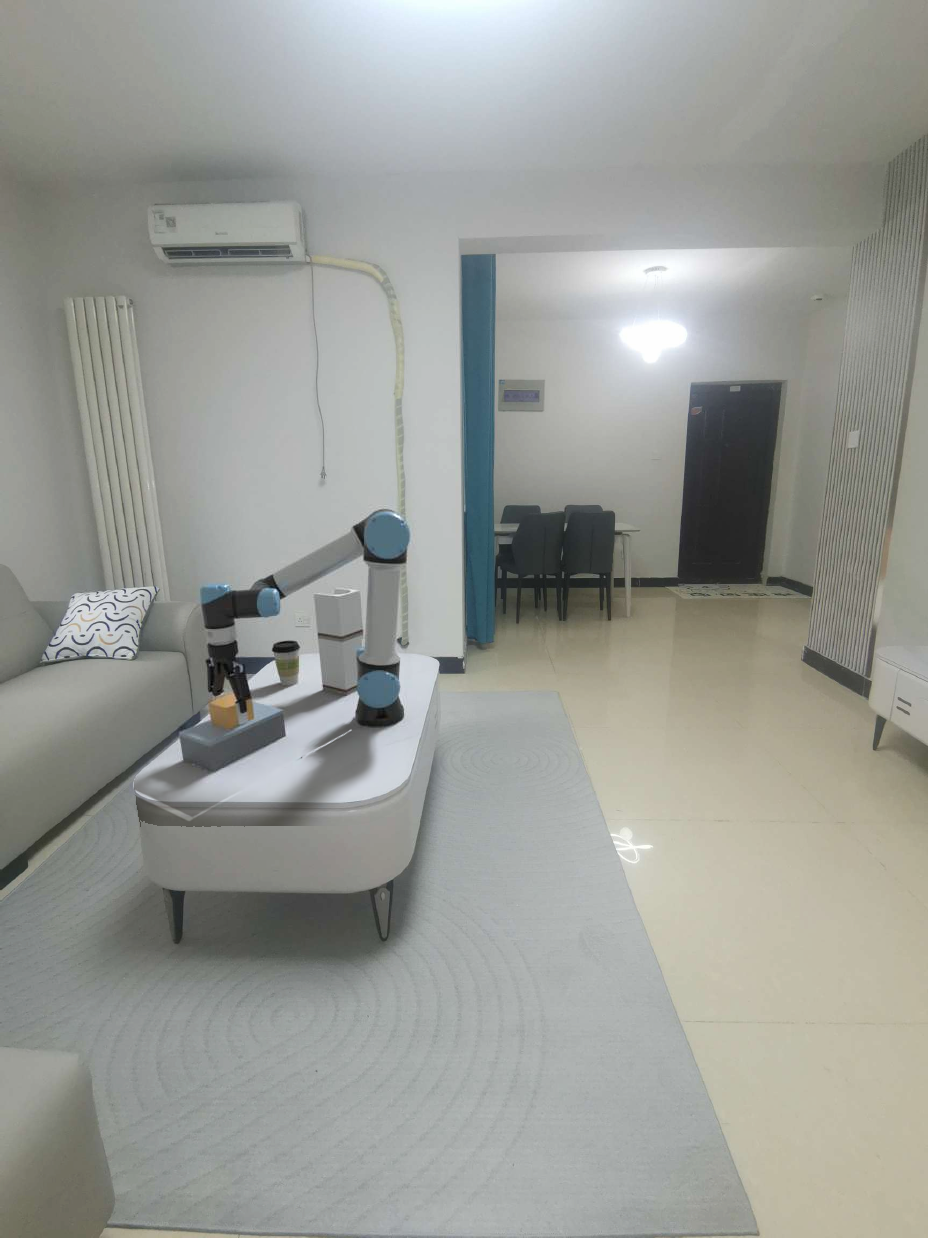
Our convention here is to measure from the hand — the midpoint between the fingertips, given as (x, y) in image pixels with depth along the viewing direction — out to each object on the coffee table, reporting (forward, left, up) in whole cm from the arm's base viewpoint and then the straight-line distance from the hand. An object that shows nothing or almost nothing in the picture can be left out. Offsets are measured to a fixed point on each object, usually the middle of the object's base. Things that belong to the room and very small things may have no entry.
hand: (232, 719), depth 163 cm
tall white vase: (+7, -51, -9) cm, 52 cm away
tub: (0, 0, -9) cm, 9 cm away
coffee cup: (+29, -45, -9) cm, 54 cm away
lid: (0, 0, -1) cm, 1 cm away
